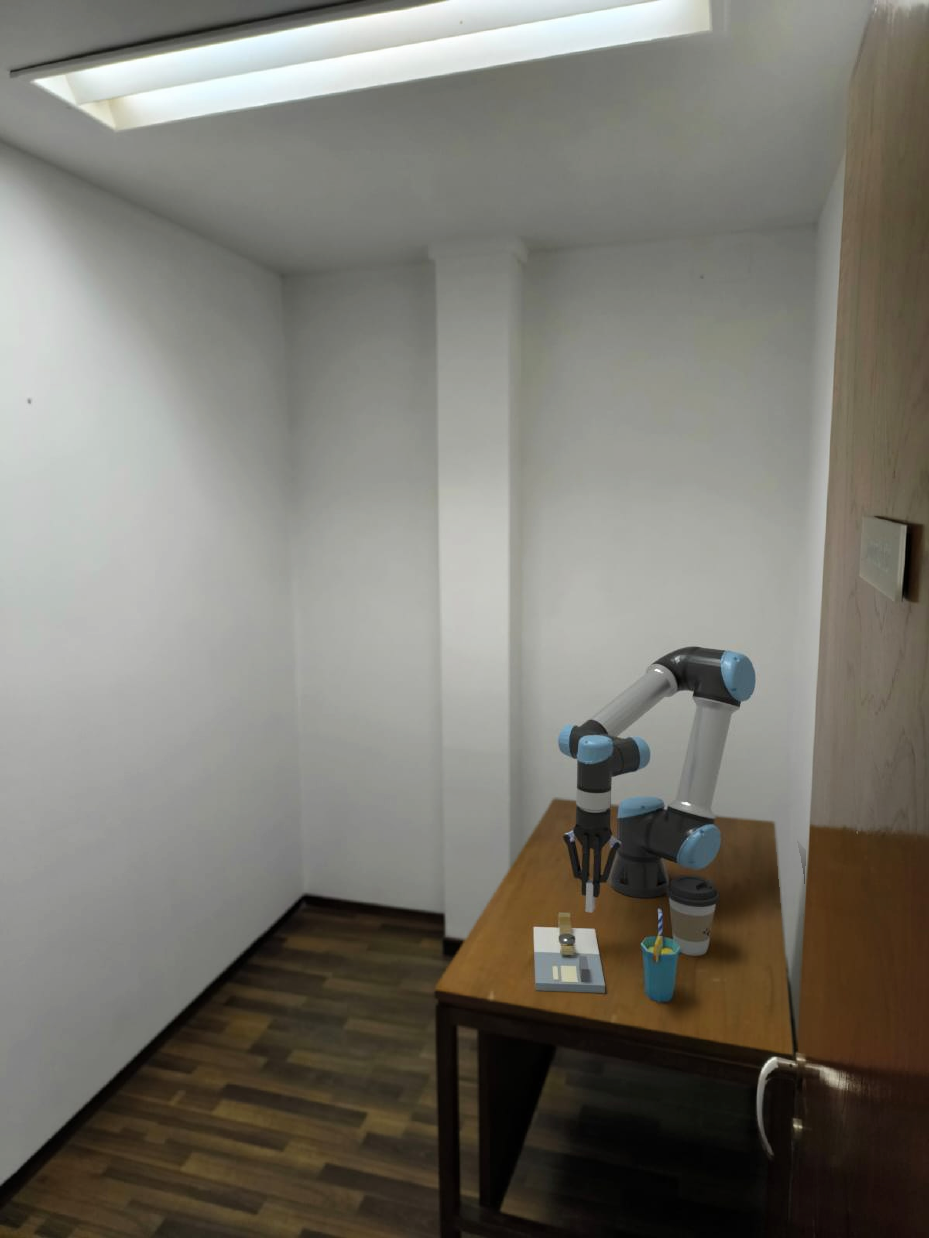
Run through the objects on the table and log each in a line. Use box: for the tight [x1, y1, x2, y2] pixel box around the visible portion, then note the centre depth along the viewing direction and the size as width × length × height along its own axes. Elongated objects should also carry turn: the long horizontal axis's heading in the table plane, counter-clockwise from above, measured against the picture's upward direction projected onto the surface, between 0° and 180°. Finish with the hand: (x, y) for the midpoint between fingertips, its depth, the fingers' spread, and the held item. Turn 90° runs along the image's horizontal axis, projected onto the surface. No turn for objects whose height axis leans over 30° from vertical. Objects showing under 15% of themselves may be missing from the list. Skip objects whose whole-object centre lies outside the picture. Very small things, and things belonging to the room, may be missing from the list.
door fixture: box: [533, 926, 606, 994], centre depth 176 cm, size 14×23×4 cm, turn 176°
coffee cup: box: [665, 874, 720, 957], centre depth 181 cm, size 11×11×15 cm
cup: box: [640, 908, 681, 1003], centre depth 163 cm, size 14×8×15 cm, turn 168°
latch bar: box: [557, 911, 575, 955], centre depth 180 cm, size 13×4×3 cm, turn 176°
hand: (590, 909), depth 180 cm, fingers closed
